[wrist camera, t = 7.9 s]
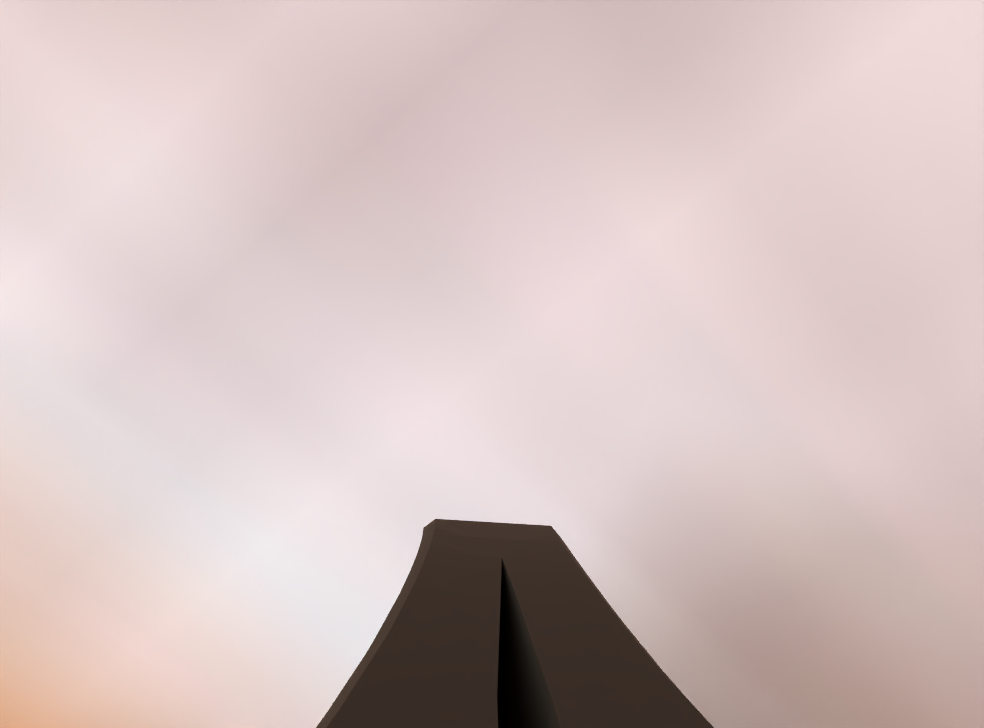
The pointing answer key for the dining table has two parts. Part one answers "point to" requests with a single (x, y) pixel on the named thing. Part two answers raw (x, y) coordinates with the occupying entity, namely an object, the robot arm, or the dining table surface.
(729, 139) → the dining table surface
